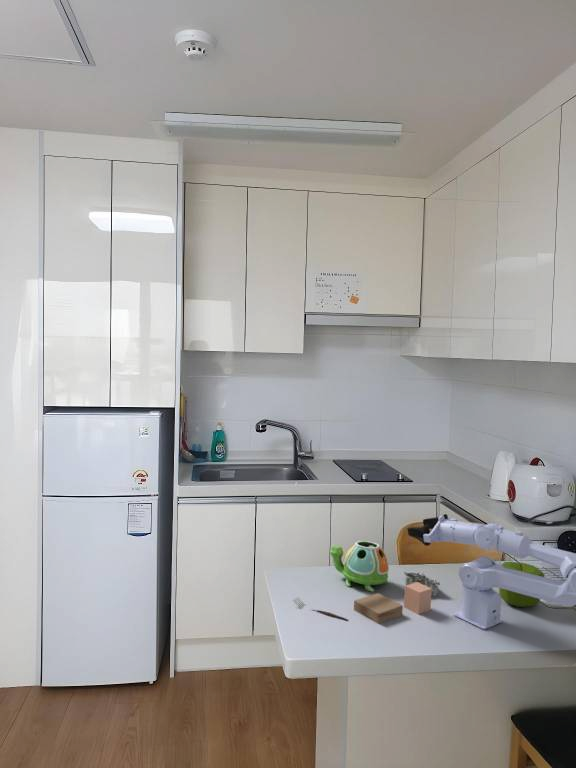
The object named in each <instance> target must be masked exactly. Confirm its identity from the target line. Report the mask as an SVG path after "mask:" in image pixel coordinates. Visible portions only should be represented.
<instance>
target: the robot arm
mask: <svg viewBox="0 0 576 768" xmlns="http://www.w3.org/2000/svg"><path fill="white" fill-rule="evenodd" d="M422 524H423V525H422V526H421V525H420V526H411V527H410V526H409V527H408V528H407V533H408V534H407V535H408V536H409V537H411V538H413V539H416V540H417V541H420V542H421V543H422V544H423V545H424V546H426V547H428V546H430V545H431V543H434V542H435V543H436V542H437V543H442V542H443V543H445V542H447V543H454V544H455V543H456V544H460V545H461V544H463V545H470V546H478V547H479V548H480V549H482V550H484V551H490V550H492V549H494V550H496V551H498V552H501V553H503V554H504V553H505V554H507V555H511V556H513V557H516V558H519V559H524V558H525V559H526V558H527V557H531V558H534V559H536V560H539V561H541V562H544V563H546V564H550V565H552V566H555V567H557V568H559V570H560V572H561V574H562V577H563V579H565V580H566V581H561V580H557V579H554V578H553V579H552V578H549V577H541V576H537V575H533V574H529V573H525V572H521V571H517V570H513V569H508V568H504V567H503V565H502V564H503V563H500V562H497V561H495V560H494V559H493V558H491V557H490V556H486V555H483V556H479V557H478V558H477V559H474V560H472V561H469V562H464V563H463V564H461V565H460V566H459V569H458V576H459V579H460V582H461V583H462V594H461V606H460V607H461V609H460V610H459V611H457V612H454V613H453V616H455V617H457V618H459V619H461V620H462V621H465V622H468V623H469V624H472V625H474V626H476V627H478V628H480V629H482V630H487V629H489V628H491V627H493V626H496V625H497V624H500V623H502V622H503V621H502V619H501V612H502V611H501V610H502V598H501V596H500V593H499V592H497V591H495V590H494V588H497V589H499V588H502V589H505V590H509V591H513V592H516V593H520V594H524V595H527V596H531V597H535V598H538V599H540V600H543V601H546V602H550V603H552V604H557V605H560V606H564V607H569V608H570V607H574V606H576V553H575V552H571V551H567V550H564V549H563V550H562V549H559V548H556V547H552V546H547V545H545V544H544V545H543V544H540V543H537V542H533V541H532V539H530V537H529V536H528V535H525V534H524V533H523V531H521V530H516V531H513V530H510V529H506V528H504V526H502V525H499V524H498V523H497V524H496V522H489V523H487V524H481V523H475V522H468V521H467V522H466V521H459V520H458V518H450V519H449V516H448V514H446V513H444V514H442V515H439V516H436V517H428V518H424V519H422Z"/></svg>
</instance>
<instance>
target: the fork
mask: <svg viewBox="0 0 576 768" xmlns="http://www.w3.org/2000/svg"><path fill="white" fill-rule="evenodd" d="M292 601H293V602H294V603H295V604H296V605H297V607H299V608H300V609H301V610H303V609H304V606H305V605H306V604H305V603H304V602H303V601H302V600H301V598H299V597H295V599H293V600H292ZM302 608H303V609H302ZM309 611H314V612H317V613H320V614H322V615H324V616H328V617H331V618H335V619H339V620H343V621H346V622H347V621H349V619H347V618H346V617H343V616H340V615H337V614H334V613H332V612H328V611H323V610H318V609H314V608H312V609H311V608H309Z"/></svg>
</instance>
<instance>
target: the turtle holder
mask: <svg viewBox="0 0 576 768" xmlns="http://www.w3.org/2000/svg"><path fill="white" fill-rule="evenodd" d="M370 546H372V547H370ZM329 553H330V555H331V557H332V562H333V565H334V568H335V569H336V571H338V572H339V573H341V574H342V575H343V576H344V577H345V586H346V587H349V588H350V587H352V582H354V583H356V584H357V583H358V584H361V585H364V589H365V590H366V591H368V592H375V589H374V587H373V586H374V585H375V586H376V585H377V586H378V585H382V584H385V585H386V584H387V583H388V582H387V580H388V579H389V575H388V574H389V571H390V569H389V563H388V560H387V556H386V553H385V551H384V549H383V548H382V547H381V546H380V544H379V543H376V542H373V541H368V540H359V541H356V542H355V543H354V544H353V546H352V547H350V548H349V549H348V550H347V552H346V553H345V557H344V560H342V557H343V556H344V551H343V547H342V546H341V545H332V547H331V549H330V551H329ZM372 585H373V586H372Z"/></svg>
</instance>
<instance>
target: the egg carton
mask: <svg viewBox="0 0 576 768" xmlns="http://www.w3.org/2000/svg"><path fill="white" fill-rule="evenodd" d="M403 573H404V576H405V578H404V579H405V581H404V586H406V585H410V584H413V583H416V582H418V583H421V584H423V585H425V586H427V587H429V588H432V592H431V597H437V595H438V592H439V587H438V586H440V585H441V583H440V582H439V581H438V580H434V579H432V578H431V577H428V576H426V574H424V573H422V574H420V573H419V572H417V573H416V572H406V571H404V572H403Z"/></svg>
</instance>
